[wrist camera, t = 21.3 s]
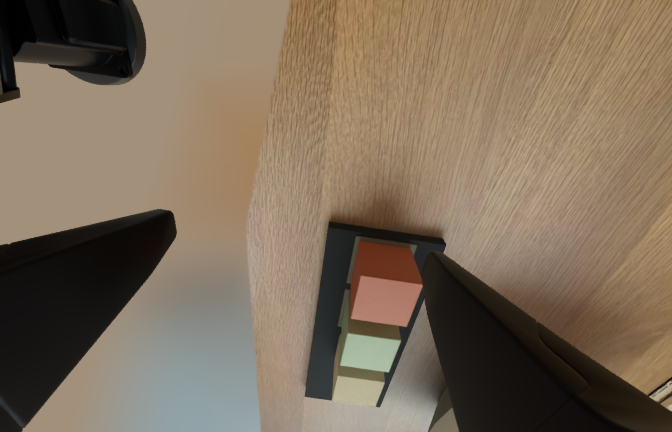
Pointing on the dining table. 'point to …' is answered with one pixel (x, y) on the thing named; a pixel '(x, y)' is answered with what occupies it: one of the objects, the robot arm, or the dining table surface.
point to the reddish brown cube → (384, 284)
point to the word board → (334, 288)
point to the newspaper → (664, 395)
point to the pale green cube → (367, 342)
